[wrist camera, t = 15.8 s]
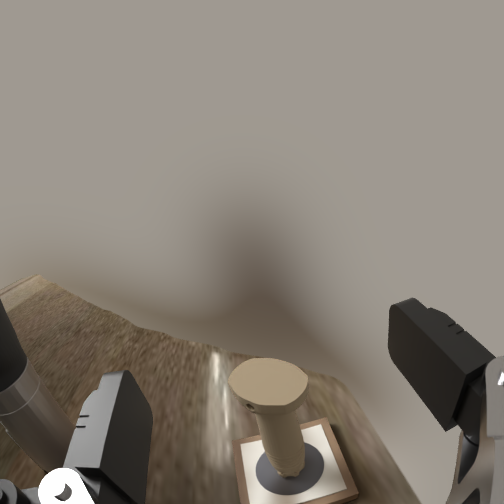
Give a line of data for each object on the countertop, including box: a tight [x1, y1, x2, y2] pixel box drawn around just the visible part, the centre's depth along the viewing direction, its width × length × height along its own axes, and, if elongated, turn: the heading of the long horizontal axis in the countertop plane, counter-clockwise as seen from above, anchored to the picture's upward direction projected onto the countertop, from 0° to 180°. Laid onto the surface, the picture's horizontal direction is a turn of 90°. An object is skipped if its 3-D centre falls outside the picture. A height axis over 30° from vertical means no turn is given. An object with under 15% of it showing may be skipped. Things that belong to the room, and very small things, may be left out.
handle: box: [228, 358, 309, 478], centre depth 25 cm, size 5×6×15 cm
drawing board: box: [232, 417, 359, 504], centre depth 29 cm, size 12×12×2 cm
